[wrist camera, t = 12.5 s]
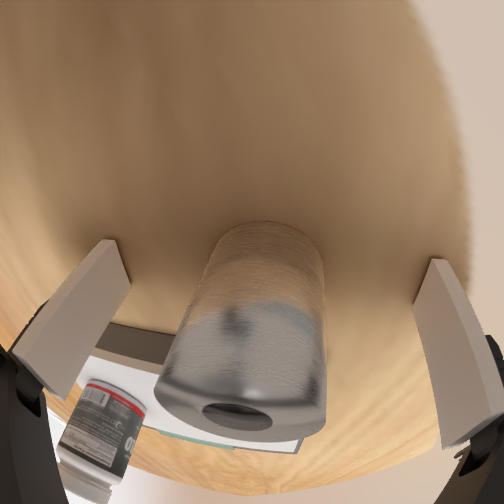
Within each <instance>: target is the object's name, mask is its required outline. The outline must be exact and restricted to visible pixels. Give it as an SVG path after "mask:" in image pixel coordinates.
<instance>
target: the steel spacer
mask: <svg viewBox="0 0 504 504" xmlns="http://www.w3.org/2000/svg"><path fill="white" fill-rule="evenodd" d="M154 395H155V398H156V399H157V401H158V403H159V404H160V405H161V406H162V407H163V408H164V409H165V410H166V411H167V412H169V413H170V414H171V415H173V416H174V417H176V418H177V419H179V420H181V421H183V422H184V423H186V424H188V425H190V426H193V427H195V428H197V429H200V430H202V431H205V432H208V433H211V434H214V435H217V436H221V437H225V438H230V439H235V440H241V441H248V442H261V443H275V442H287V441H294V440H298V439H302V438H305V437H308V436H311V435H313V434H315V433H317V432H318V431H319V430H321V429H322V428H323V426H324V425H325V422H326V395H327V339H326V306H325V285H324V268H323V261H322V258H321V255H320V253H319V251H318V249H317V248H316V246H315V245H314V244H313V242H312V241H311V240H310V239H309V238H308V237H306V236H305V235H304V234H303V233H301V232H300V231H298V230H296V229H294V228H292V227H290V226H287V225H284V224H281V223H276V222H269V221H256V222H249V223H245V224H242V225H239V226H237V227H235V228H233V229H231V230H230V231H228V232H227V233H226V234H224V235H223V236H222V237H221V239H220V240H219V241H218V243H217V244H216V246H215V248H214V250H213V253H212V255H211V257H210V259H209V261H208V263H207V266H206V268H205V270H204V272H203V274H202V277H201V279H200V281H199V283H198V286H197V288H196V290H195V292H194V295H193V297H192V299H191V301H190V304H189V306H188V308H187V311H186V313H185V315H184V317H183V320H182V322H181V324H180V327H179V329H178V331H177V334H176V336H175V338H174V341H173V343H172V346H171V348H170V350H169V353H168V355H167V358H166V360H165V362H164V365H163V367H162V370H161V372H160V375H159V377H158V380H157V382H156V385H155V387H154Z"/></svg>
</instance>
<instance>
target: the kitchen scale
mask: <svg viewBox="0 0 504 504" xmlns="http://www.w3.org/2000/svg"><path fill="white" fill-rule="evenodd" d="M174 338H175V336H172V335H167V334H161V333H156V332H150V331H145V330H140V329H135V328H131V327H126V326H121V325H117V324H112V323H109V324H108V325H107V327H106V329H105V330H104V332H103V334H102V335H101V337H100V339H99V340H98V342H97V344H96V346H95V347H94V349H93V351H92V352H91V354H90V356H89V358H88V359H87V361H86V363H85V365H84V366H83V368H82V370H81V372H80V374H79V376H78V377H77V379H76V382H77V383H78V385H79V386H80V387H81V388H82V389H83V390H84V388H85V386H86V384H87V383H88V382H89V381H92V380H97V381H101V382H105V383H108V384H110V385H112V386H114V387H116V388H118V389H120V390H122V391H123V392H125V393H127V394H128V395H130V396H132V397H133V398H134V399H136V400H137V401H139V402H140V403H141V404H142V405H143V407H144V408H145V410H146V415H145V418H144V421H143V423H142V426H144V427H147V428H151V429H154V430H157V431H158V432H159V433H160V434H163V435H166V436H170V437H174V438H178V439H182V440H186V441H190V442H194V443H199V444H203V445H208V446H213V447H218V448H224V449H230V450H234V448H239V449H246V450H254V451H263V452H273V453H285V454H297V453H298V451H299V449H300V446H301V444H302V442H303V440H304V438H302V439H298V440H294V441H287V442H275V443H261V442H248V441H241V440H235V439H230V438H225V437H221V436H217V435H214V434H211V433H208V432H205V431H202V430H200V429H197V428H195V427H193V426H190V425H188V424H186V423H184V422H183V421H181V420H179V419H177V418H176V417H174V416H173V415H171V414H170V413H169V412H167V411H166V410H165V409H164V408H163V407H162V406H161V405H160V404H159V403H158V401H157V399H156V398H155V395H154V387H155V385H156V382H157V380H158V377H159V375H160V372H161V370H162V367H163V365H164V362H165V360H166V358H167V355H168V353H169V350H170V348H171V346H172V343H173V341H174Z"/></svg>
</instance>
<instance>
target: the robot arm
mask: <svg viewBox="0 0 504 504" xmlns="http://www.w3.org/2000/svg"><path fill="white" fill-rule="evenodd" d="M130 289H131V285H130V282H129V280H128V277H127V274H126V271H125V268H124V266H123V263H122V260H121V257H120V254H119V251H118V248H117V245H116V242H115V240H107V239H102V240H101V241H100V242H99V243H98V244H97V245H96V246H95V247H94V248H93V249H92V250H91V252H90V253H89V254H88V255H87V256H86V257H85V258H84V259H83V260H82V261H81V263H80V264H79V265H78V266H77V267H76V268H75V269H74V271H73V272H72V273H71V274H70V275H69V276H68V277H67V279H66V280H65V281H64V282H63V283H62V285H61V286H60V287H59V288H58V289H57V291H56V292H55V293H54V294H53V296H52V297H51V298H50V299H49V300H48V301H46V302H45V303H44V304H43V305H41V306H40V308H39V309H38V310H37V312H36V313H35V314H34V317H32V318H31V319H30V321H29V324H27V325H26V326H25V328H24V329H23V330H22V332H21V333H20V335H19V336H18V337H17V339H16V340H15V342H14V343H13V345H12V346H11V348H10V349H9V350H8V351H7V352H6V351H5V349H4V348H3V347H2V346H1V344H0V504H69V502H68V500H67V496H66V494H65V490H64V487H63V484H62V480H61V477H60V473H59V469H58V465H57V462H56V458H55V453H54V448H53V443H52V438H51V433H50V427H49V422H48V414H47V407H46V398H45V395H44V392H43V391H42V389H43V387H45V388H46V389H47V390H48V391H49V392H50V393H51V394H52V395H54V396H55V397H57V398H59V399H61V400H63V401H65V400H66V398H67V396H68V394H69V392H70V390H71V389H72V387H73V385H74V383H75V381H76V379H77V377H78V376H79V374H80V372H81V370H82V368H83V366H84V365H85V363H86V361H87V359H88V358H89V356H90V354H91V352H92V351H93V349H94V347H95V346H96V344H97V342H98V340H99V339H100V337H101V335H102V334H103V332H104V330H105V329H106V327H107V325H108V324H109V322H110V321H111V319H112V317H113V316H114V314H115V313H116V311H117V309H118V308H119V306H120V305H121V303H122V302H123V300H124V299H125V297H126V295H127V294H128V292H129V291H130ZM412 311H413V314H414V317H415V321H416V324H417V327H418V331H419V334H420V338H421V342H422V345H423V349H424V353H425V357H426V361H427V365H428V369H429V373H430V378H431V383H432V387H433V392H434V397H435V403H436V409H437V414H438V421H439V428H440V435H441V443H442V450H444V449H447V448H452V447H455V446H460V445H461V444H463V443H464V442H466V441H467V440H469V439H470V443H471V444H470V445H469V446H467V447H466V448H464V449H463V450H461V451H459V452H458V453H457V454H456V455H455V456H454V458H455V459H456V458H458V457H460V456H461V455H463V456H462V458H461V459H459V461H460V462H459V463H458V465H457V467H456V469H455V471H454V472H453V474H452V476H451V478H450V479H449V481H448V483H447V484H446V486H445V487H444V489H443V491H442V492H441V494H440V495H439V497H438V498H437V500H436V501H435V503H434V504H504V360H503V356H502V353H501V351H500V348H499V346H498V344H497V343H496V342H495V340H494V339H493V338H492V336H491V335H484V332H483V330H482V328H481V326H480V323H479V321H478V319H477V316H476V314H475V312H474V310H473V308H472V306H471V304H470V302H469V300H468V297H467V296H466V294H465V292H464V290H463V288H462V286H461V284H460V282H459V280H458V278H457V276H456V275H455V273H454V271H453V269H452V267H451V266H450V264H449V262H448V260H445V259H432V260H431V262H430V265H429V268H428V271H427V273H426V276H425V278H424V281H423V284H422V286H421V288H420V291H419V293H418V296H417V298H416V300H415V303H414V305H413V307H412Z"/></svg>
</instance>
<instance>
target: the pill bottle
mask: <svg viewBox="0 0 504 504" xmlns="http://www.w3.org/2000/svg"><path fill="white" fill-rule="evenodd" d="M145 415H146V410H145V408H144V407H143V405H142V404H141V403H140V402H139V401H137V400H136V399H134V398H133V397H132V396H130V395H128V394H127V393H125V392H123V391H122V390H120V389H118V388H116V387H114V386H112V385H110V384H108V383H105V382H101V381H97V380H92V381H89V382H88V383H87V384H86V386H85V388H84V390H83V393H82V395H81V397H80V399H79V401H78V403H77V405H76V407H75V409H74V411H73V413H72V415H71V417H70V419H69V422H68V424H67V426H66V428H65V430H64V432H63V435H62V437H61V439H60V441H59V443H58V445H57V449H56V451H57V454H58V456H59V458H60V460H61V461H60V463H57V465H58V469H59V473H60V477H61V480H62V484H63V487H64V488H65V489H66V490H68V491H70V492H72V493H74V494H76V495H77V496H79V497H82V498H84V499H86V500H88V501H91V502H93V503H96V504H107V503H108V501H109V498H110V496H111V492H112V490H110V489H109V487H110V486H111V485H117V484H119V483H120V482H121V481H122V478H123V476H124V473H125V470H126V468H127V464H128V462H129V459H130V456H131V453H132V451H133V448H134V445H135V442H136V439H137V436H138V434H139V431H140V428H141V426H142V423H143V421H144V418H145Z"/></svg>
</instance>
